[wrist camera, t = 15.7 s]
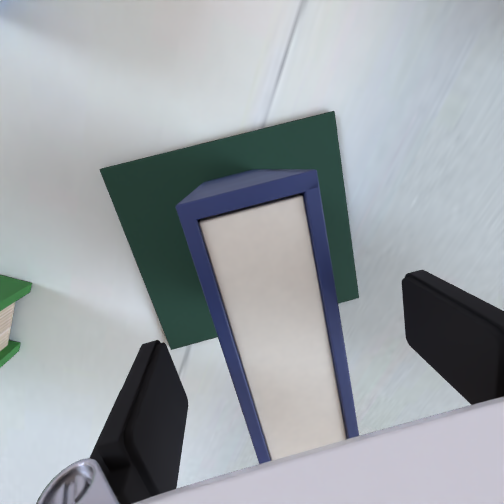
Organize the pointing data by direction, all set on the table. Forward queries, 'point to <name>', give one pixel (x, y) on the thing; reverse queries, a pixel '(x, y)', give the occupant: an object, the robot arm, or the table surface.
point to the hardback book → (9, 313)
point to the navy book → (274, 305)
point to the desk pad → (209, 168)
